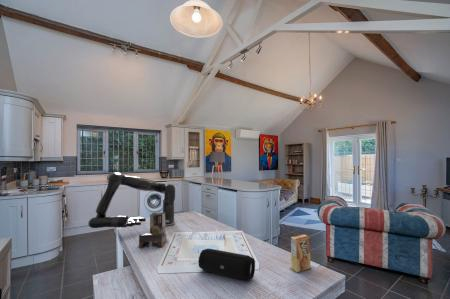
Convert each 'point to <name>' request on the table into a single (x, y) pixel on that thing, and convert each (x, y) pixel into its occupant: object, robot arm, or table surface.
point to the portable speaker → (227, 263)
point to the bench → (152, 239)
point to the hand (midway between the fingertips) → (143, 221)
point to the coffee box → (157, 223)
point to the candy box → (300, 253)
